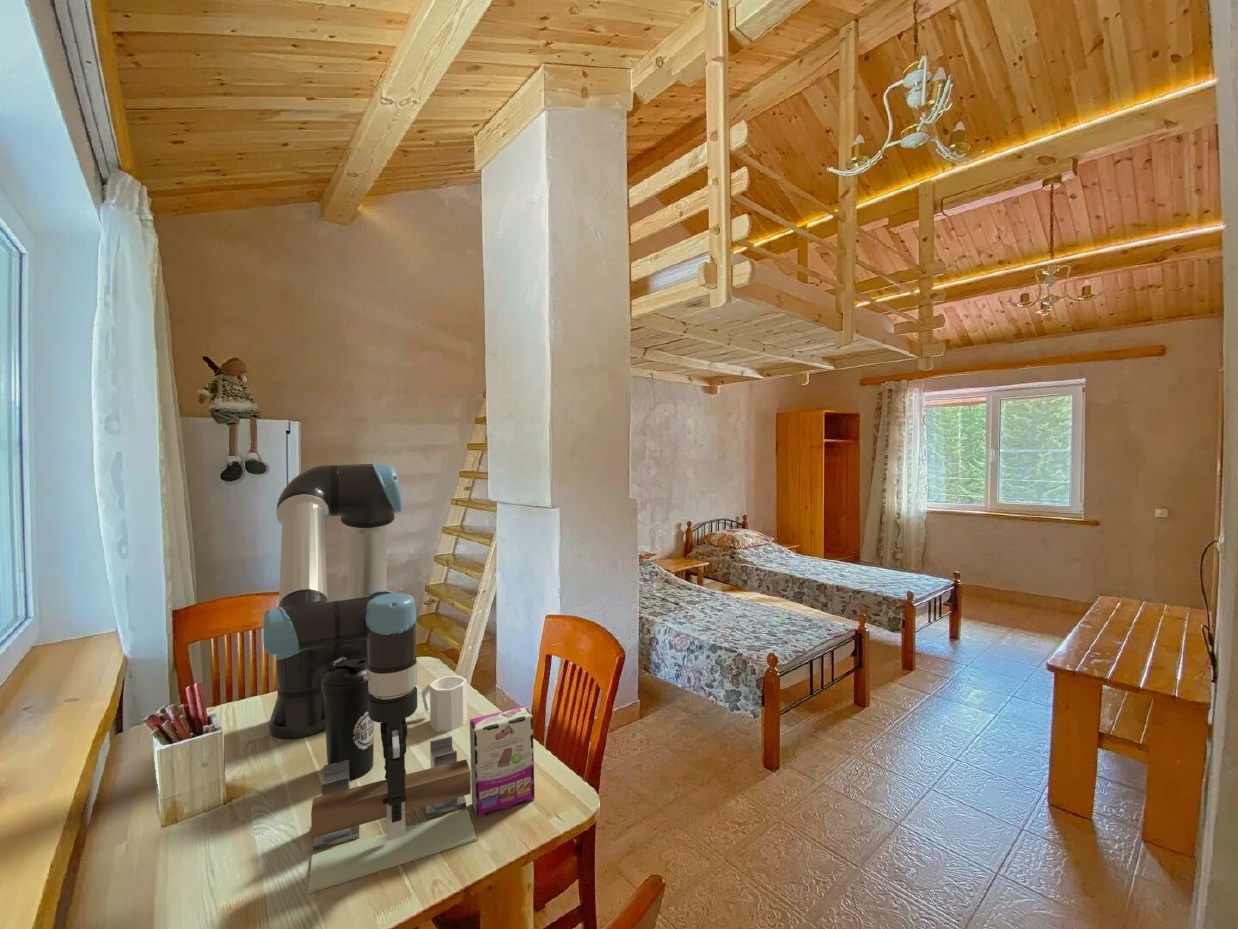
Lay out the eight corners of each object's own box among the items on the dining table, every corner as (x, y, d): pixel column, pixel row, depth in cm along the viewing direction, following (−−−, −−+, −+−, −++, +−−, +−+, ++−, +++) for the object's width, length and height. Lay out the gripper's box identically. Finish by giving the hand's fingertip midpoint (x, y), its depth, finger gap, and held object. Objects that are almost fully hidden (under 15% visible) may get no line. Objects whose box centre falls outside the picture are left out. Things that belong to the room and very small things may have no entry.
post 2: (422, 795, 104) (421, 741, 104) (459, 785, 107) (459, 733, 107) (426, 818, 98) (425, 760, 97) (466, 806, 101) (465, 751, 100)
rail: (313, 822, 87) (313, 798, 86) (466, 781, 97) (466, 759, 97) (311, 838, 83) (311, 813, 83) (470, 794, 93) (470, 771, 93)
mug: (473, 717, 134) (473, 678, 133) (451, 734, 126) (450, 693, 125) (435, 708, 138) (434, 671, 138) (410, 725, 130) (410, 684, 130)
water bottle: (356, 787, 106) (353, 672, 106) (311, 781, 108) (308, 668, 108) (388, 758, 116) (386, 653, 115) (346, 752, 118) (344, 649, 118)
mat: (312, 857, 88) (312, 855, 88) (467, 811, 99) (467, 809, 99) (308, 893, 81) (308, 891, 81) (476, 840, 92) (476, 838, 92)
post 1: (315, 824, 96) (314, 766, 96) (359, 812, 99) (358, 756, 99) (312, 851, 90) (311, 789, 89) (359, 837, 93) (358, 777, 92)
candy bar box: (527, 785, 107) (526, 704, 106) (535, 800, 103) (534, 715, 102) (469, 803, 102) (468, 717, 101) (475, 819, 97) (474, 730, 97)
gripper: (367, 674, 95) (369, 803, 96) (368, 718, 80) (372, 871, 81) (412, 666, 99) (414, 791, 99) (422, 707, 83) (425, 854, 84)
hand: (395, 827), depth 90 cm, fingers closed on rail, 4 cm apart
